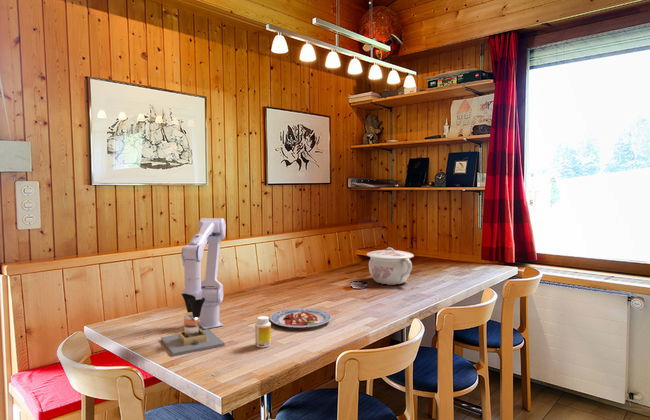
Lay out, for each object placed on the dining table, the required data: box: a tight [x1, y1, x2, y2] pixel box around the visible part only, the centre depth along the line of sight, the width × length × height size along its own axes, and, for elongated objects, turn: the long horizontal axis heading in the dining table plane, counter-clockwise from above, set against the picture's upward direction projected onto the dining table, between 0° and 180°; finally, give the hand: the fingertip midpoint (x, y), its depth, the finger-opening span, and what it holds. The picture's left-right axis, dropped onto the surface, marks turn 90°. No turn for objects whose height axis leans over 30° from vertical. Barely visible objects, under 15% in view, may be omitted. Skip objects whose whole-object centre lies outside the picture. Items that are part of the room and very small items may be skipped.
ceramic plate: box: [269, 307, 332, 329], centre depth 189 cm, size 26×26×3 cm
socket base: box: [160, 328, 226, 357], centre depth 164 cm, size 18×18×1 cm
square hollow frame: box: [177, 327, 207, 346], centre depth 164 cm, size 11×8×2 cm
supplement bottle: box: [254, 315, 272, 349], centre depth 161 cm, size 6×6×10 cm
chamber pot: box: [366, 247, 415, 286], centre depth 260 cm, size 28×28×21 cm
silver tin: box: [183, 313, 200, 338], centre depth 163 cm, size 5×5×9 cm
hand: (193, 314), depth 164 cm, fingers open, 7 cm apart
